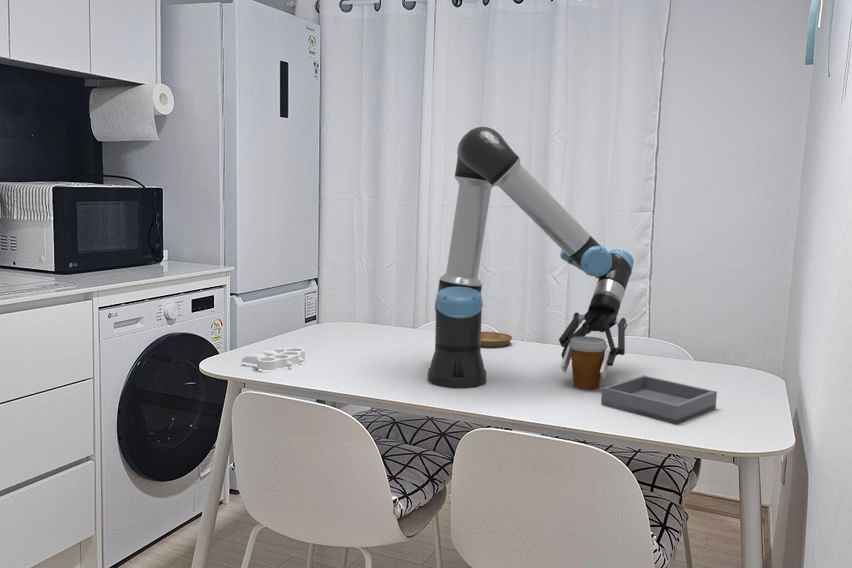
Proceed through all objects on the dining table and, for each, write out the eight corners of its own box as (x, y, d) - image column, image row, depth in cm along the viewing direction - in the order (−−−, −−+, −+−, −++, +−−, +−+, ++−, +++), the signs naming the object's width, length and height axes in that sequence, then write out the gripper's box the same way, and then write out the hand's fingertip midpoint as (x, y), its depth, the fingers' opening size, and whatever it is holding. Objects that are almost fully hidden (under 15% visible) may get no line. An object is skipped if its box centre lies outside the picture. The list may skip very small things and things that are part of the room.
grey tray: (601, 404, 179) (601, 387, 178) (642, 390, 191) (643, 375, 191) (676, 424, 165) (677, 406, 165) (715, 408, 178) (716, 391, 177)
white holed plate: (273, 356, 223) (317, 361, 217) (234, 369, 206) (279, 376, 201) (273, 344, 222) (317, 350, 216) (234, 357, 206) (279, 363, 200)
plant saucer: (488, 337, 254) (488, 329, 253) (521, 345, 243) (522, 337, 242) (455, 343, 244) (455, 334, 244) (488, 351, 233) (489, 343, 233)
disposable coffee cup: (609, 392, 190) (612, 344, 188) (570, 391, 190) (573, 343, 188) (600, 381, 199) (602, 336, 198) (563, 381, 199) (565, 335, 197)
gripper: (650, 314, 199) (629, 387, 188) (569, 305, 211) (544, 373, 199) (646, 296, 194) (623, 370, 183) (563, 288, 206) (537, 357, 194)
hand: (582, 372), depth 191 cm, fingers closed on disposable coffee cup, 9 cm apart
